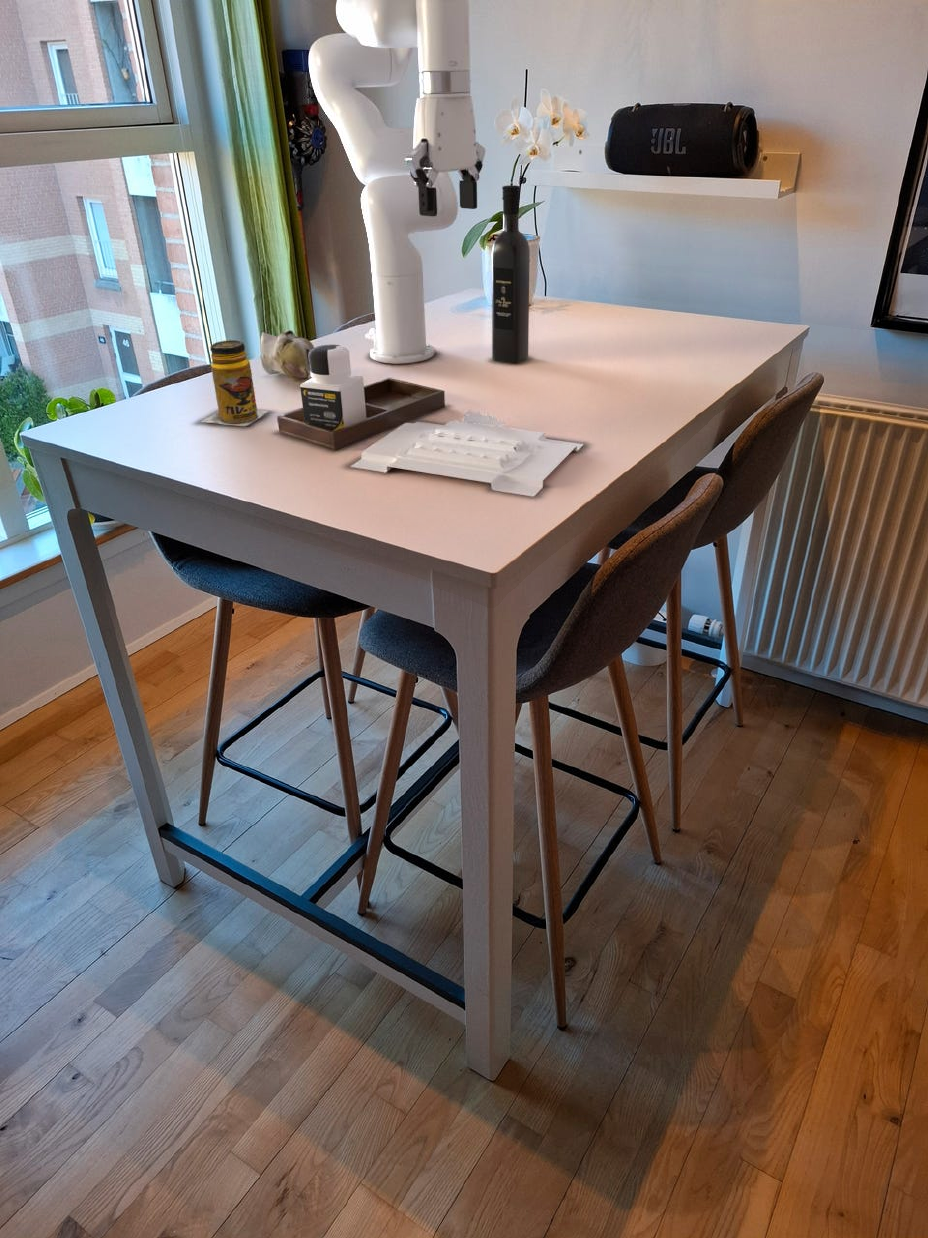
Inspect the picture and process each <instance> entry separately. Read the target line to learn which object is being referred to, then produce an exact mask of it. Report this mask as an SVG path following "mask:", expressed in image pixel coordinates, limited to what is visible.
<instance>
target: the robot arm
mask: <svg viewBox="0 0 928 1238" xmlns="http://www.w3.org/2000/svg"><path fill="white" fill-rule="evenodd" d="M469 3H470V1H469V0H336V4H335V14H336V18H337V21H338V23H339V26H340V27H341V29H342V30H343V31H344V32H345V33H344V32H338V33H332V34H328V35H324V36H322V37H321V36H320V37H319V38H318V39H317V40H315V41H314V42H313V43H312V45H311V46H310V49H309V53H308V69H309V75H310V81H311V84H312V88H313V90H314V94H315V97H316V98H317V101H318V103H319V105H320V106H321V108H322V109H323V111H324V112H325V114H326V115H327V117H328V119H329V120H330V121H331V122H332V124H333V125H334V127H335V129H336V131H337V132H338V134H339V138H340V140H341V143H342V144H343V147H344V150H345V152H346V155H347V158H348V160H349V162H350V164H351V167H352V169H353V172H354V173H355V176H356V177H357V179H358V180H359V182H360V183H361V184H363V185H364V188H363V189H362V192H361V197H360V204H361V209H362V210H361V211H362V215H363V220H364V225H365V229H366V233H367V240H368V244H369V245H368V246H369V254H370V255H369V256H370V266H371V274H372V275H371V276H372V289H373V290H372V291H373V303H374V304H373V305H374V315H375V327H371V328H370V329H369V332H367V333H366V334H365V339H366V340H368V341H373V347H372V348H371V349H370V350H369V355H370V358H371V359H372V360H374V361H376V362H380V363H385V364H397V365H398V364H413V363H418V362H424V361H427V360H429V359H431V358H432V357H434V355H435V347H434V346H433V345H431V344H429V343H427V335H426V334H427V332H426V311H425V292H424V291H425V290H424V270H423V269H424V268H423V260H422V257H421V253H420V251H419V250H418V249H417V247H416V246H415V245H414V244H413V242H412V241H411V240H410V238H409V235H410V234H415V233H422V232H433V231H441V230H445V229H447V228H449V227H451V226H453V224H454V223H455V221H456V220H457V218H458V212H459V207H460V208H461V209H466V210H467V209H468V210H475V209H477V208H478V181H480V176H481V175H480V173H481V172H482V169H483V165H484V159H485V155H486V147H484V146H483V145H481V144H480V143H478V141H477V134H476V132H477V131H476V130H477V129H476V119H475V111H474V104H473V99H472V95H471V71H470V70H471V56H470V55H471V54H470V53H471V52H470V51H471V50H470V4H469ZM415 48H417V55H418V56H417V57H418V77H419V79H418V80H419V97H416V101H415V110H414V121H413V127H390V126H387V124H385V121H384V119H383V117H382V114H381V111H380V110H379V109H378V107H377V106H376V104H375V103H373V101H372V100H371V99H369V97H367V96H366V95H365V94H363V93H362V92H360V91H359V90H358V89H356V88H380V87H381V88H382V87H385V88H386V87H392V86H396V85H397V84H399V83H400V82H401V81H402V79H403V78H404V76H405V74H406V71H407V68H408V66H409V63H410V60H411V57H412V54H413V53H414V49H415ZM456 171H457V172H458V174H459V175H460V177H461V180H459V183H458V184H459V186H458V187H459V201H458V195H457V191H456V188H455V185H454V183H453V180H452V178H451V175H450V173H451V172H456ZM449 172H450V173H449Z"/></svg>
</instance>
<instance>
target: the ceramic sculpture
mask: <svg viewBox="0 0 928 1238" xmlns="http://www.w3.org/2000/svg"><path fill="white" fill-rule="evenodd" d="M314 348H315V346H314V344H313V343H312V341H310V340H309V339H307V338H304V337H303V336H302V337H300V336H296V334H295V333H294V331H293V330H286V331H283V332H281V333H280V334H279V335H278V336H277V335H274V334H270V333H266V332H262V333H261V335H260V356H259V358H260V362H261V363H260V364H261V367H262V369H263V370H264V372H266V373H267V374H268V375H278V374H282V375H285V376H286V377H287V378H288V379H290V380H291V381H292V382H296V383H304V382H306V381H308V380H310V378H309V376H311V371H310V363H309V352H310V350H312V349H314Z"/></svg>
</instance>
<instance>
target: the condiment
mask: <svg viewBox="0 0 928 1238" xmlns="http://www.w3.org/2000/svg"><path fill="white" fill-rule="evenodd" d="M209 351H210V352H211V355H210V357H211V360H212V361H211V363H210V369H211V375H212V381H213V386H214V393H215V398H216V404H217V407H218V408H217V409H218V410H217V411H216V412H215V413H213V414H211V415H210V416H207V417H206V418H205V419H203V420H201V421H200V423H207V424H219V425H224V426H233V427H235V426H236V427H247V426H249V425H251V424H253V423H254V422H256V421H257V420H259V419H260V418H262V417H263V416H264V415H265V414H266V413H268V412H269V411H268V410H258V407H257V406H258V405H257V401H256V400H257V399H256V393H255V387H254V382H253V376H252V375H253V373H252V368H251V367H252V366H251V362H250V360H249V359H248V358H247V351H246V346H245V344H244V342H242V341H240V340H233V339H230V340H229V339H228V340H220V341H217V342H214V343H212V344H211V345H210V350H209Z"/></svg>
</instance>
